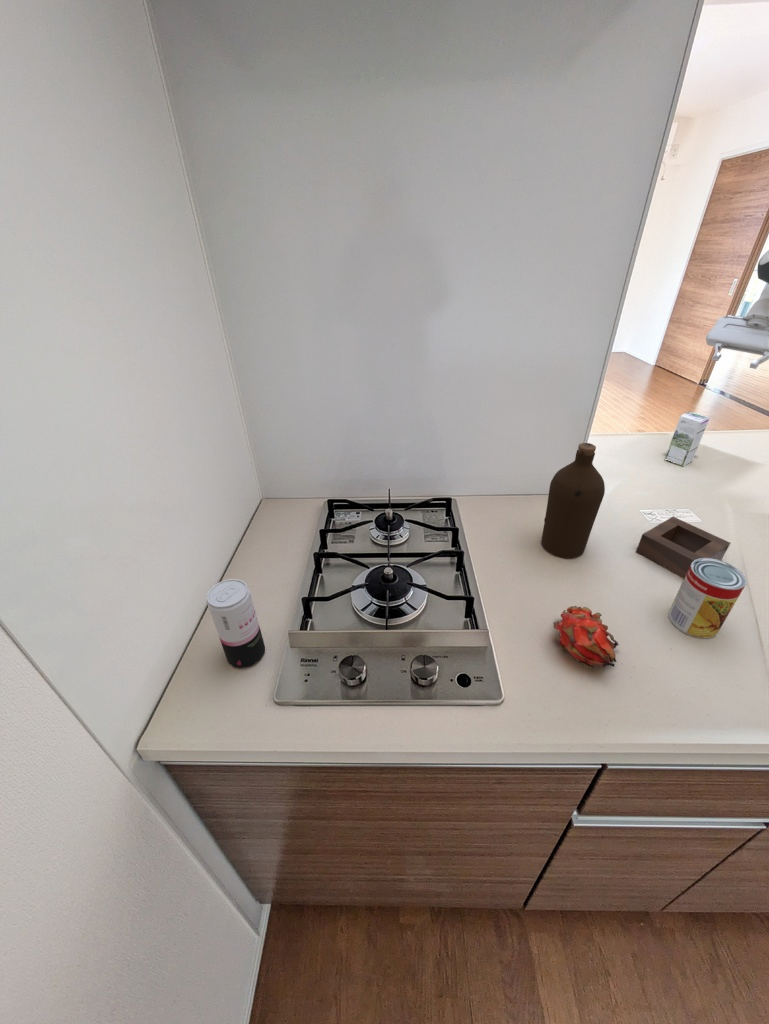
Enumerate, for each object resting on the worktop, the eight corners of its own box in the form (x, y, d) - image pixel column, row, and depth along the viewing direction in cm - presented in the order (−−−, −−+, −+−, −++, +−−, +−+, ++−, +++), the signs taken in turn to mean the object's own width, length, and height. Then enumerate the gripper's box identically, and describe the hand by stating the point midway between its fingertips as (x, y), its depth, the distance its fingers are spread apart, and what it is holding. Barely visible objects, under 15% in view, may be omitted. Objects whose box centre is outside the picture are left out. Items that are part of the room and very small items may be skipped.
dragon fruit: (558, 627, 82) (600, 685, 73) (533, 621, 77) (576, 683, 68) (593, 598, 78) (641, 656, 70) (569, 590, 73) (618, 651, 65)
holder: (665, 533, 102) (673, 516, 100) (721, 561, 94) (730, 542, 91) (635, 552, 97) (642, 534, 94) (691, 582, 89) (700, 563, 86)
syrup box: (692, 461, 131) (711, 416, 123) (682, 467, 129) (701, 421, 121) (673, 455, 135) (690, 410, 127) (663, 460, 133) (679, 415, 125)
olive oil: (597, 557, 96) (629, 454, 82) (551, 563, 95) (576, 460, 81) (571, 529, 105) (596, 432, 91) (530, 535, 103) (549, 437, 89)
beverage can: (219, 659, 76) (196, 597, 68) (247, 634, 80) (229, 573, 72) (246, 676, 73) (225, 613, 65) (273, 648, 78) (257, 586, 69)
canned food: (728, 632, 78) (758, 582, 71) (693, 643, 76) (721, 593, 69) (691, 602, 84) (715, 553, 77) (658, 611, 82) (680, 563, 76)
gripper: (721, 307, 125) (692, 349, 126) (810, 318, 112) (777, 365, 113) (722, 321, 130) (694, 361, 131) (807, 333, 116) (775, 378, 117)
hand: (733, 363), depth 122 cm, fingers open, 8 cm apart
